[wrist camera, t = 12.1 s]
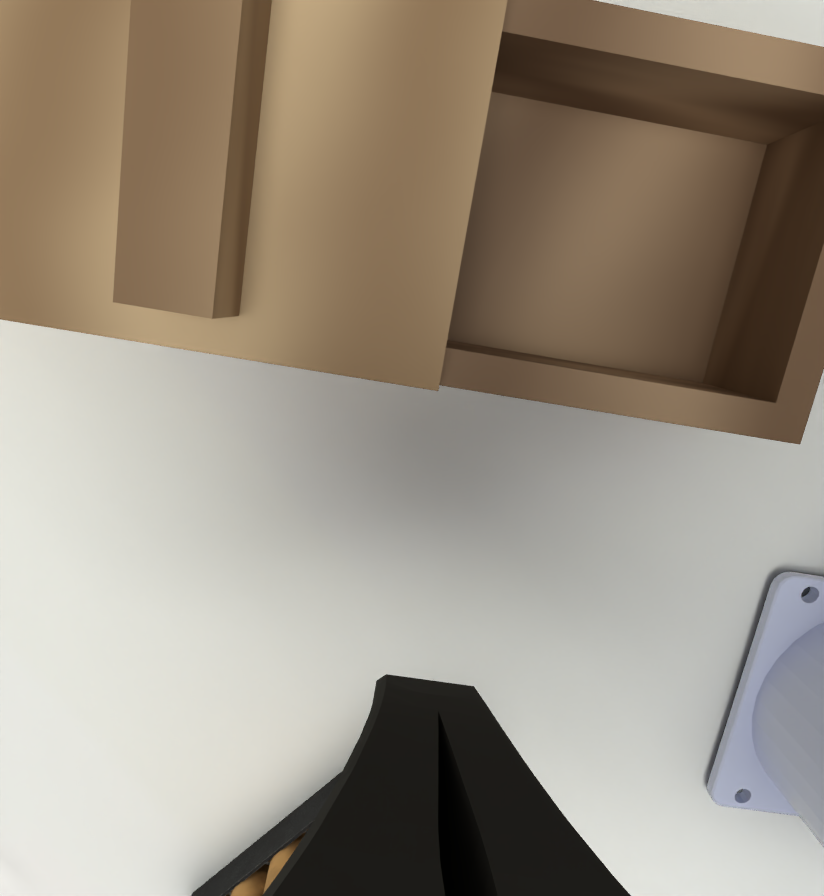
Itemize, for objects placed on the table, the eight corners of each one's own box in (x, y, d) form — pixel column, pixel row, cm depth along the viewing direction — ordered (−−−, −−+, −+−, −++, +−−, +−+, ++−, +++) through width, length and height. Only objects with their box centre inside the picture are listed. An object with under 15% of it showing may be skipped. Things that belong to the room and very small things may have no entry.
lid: (508, -23, 12) (538, -113, 9) (435, 385, 13) (444, 406, 11) (-334, -194, 11) (-558, -346, 8) (-297, 264, 12) (-474, 256, 10)
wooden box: (793, 122, 16) (918, 66, 12) (712, 413, 18) (800, 444, 14) (242, 15, 15) (189, -82, 11) (212, 329, 17) (157, 338, 13)
